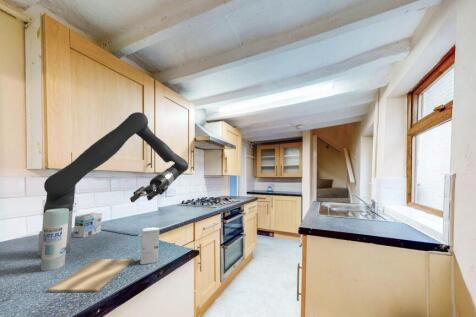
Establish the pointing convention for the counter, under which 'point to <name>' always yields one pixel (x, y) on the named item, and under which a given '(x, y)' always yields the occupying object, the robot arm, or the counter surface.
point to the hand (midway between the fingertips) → (139, 199)
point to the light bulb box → (87, 224)
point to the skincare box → (149, 245)
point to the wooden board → (91, 276)
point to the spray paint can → (54, 239)
